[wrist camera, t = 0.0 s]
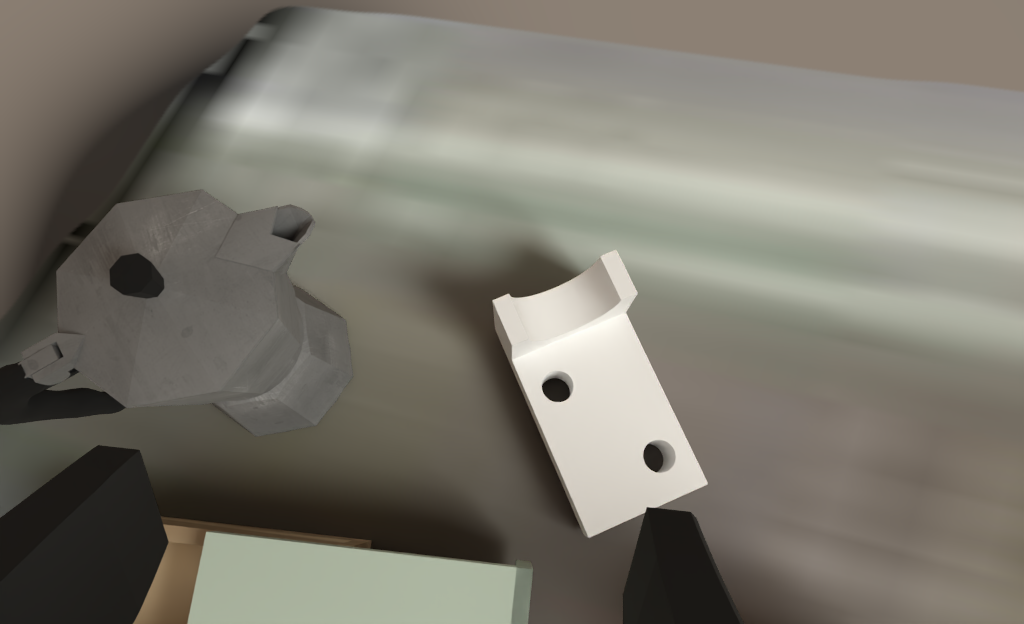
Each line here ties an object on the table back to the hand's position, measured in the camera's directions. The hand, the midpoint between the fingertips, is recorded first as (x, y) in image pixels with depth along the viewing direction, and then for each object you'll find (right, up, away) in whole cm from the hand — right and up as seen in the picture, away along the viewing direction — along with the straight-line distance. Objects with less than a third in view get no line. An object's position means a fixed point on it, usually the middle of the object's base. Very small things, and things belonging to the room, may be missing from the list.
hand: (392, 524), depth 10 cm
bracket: (+6, -3, +33) cm, 34 cm away
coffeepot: (-13, -1, +33) cm, 36 cm away
